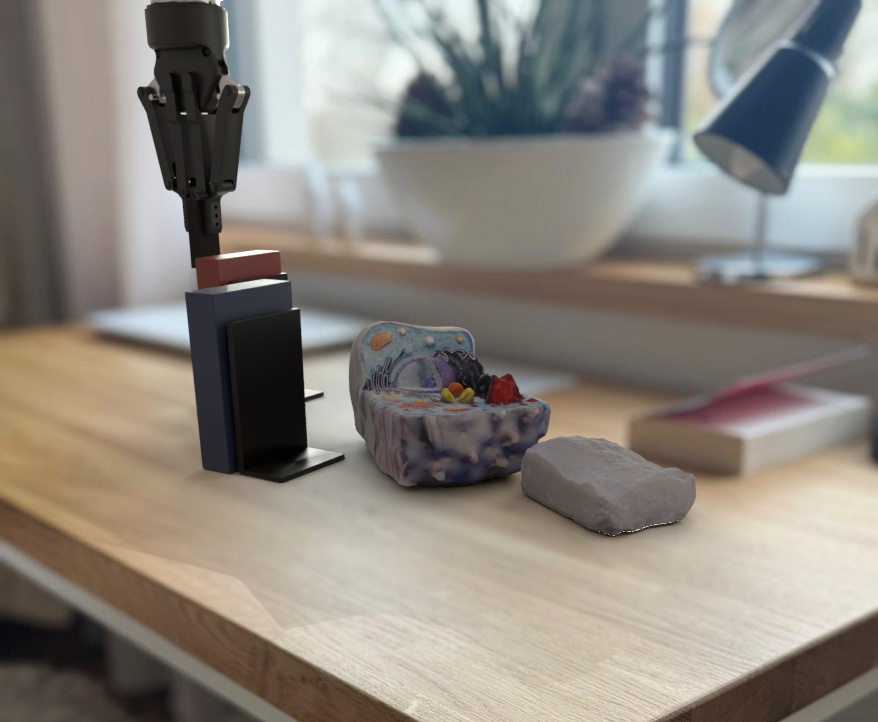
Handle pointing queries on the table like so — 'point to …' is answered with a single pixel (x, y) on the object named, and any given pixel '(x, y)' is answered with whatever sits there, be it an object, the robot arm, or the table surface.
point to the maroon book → (236, 267)
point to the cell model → (438, 407)
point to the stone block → (605, 484)
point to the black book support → (271, 398)
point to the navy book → (223, 358)
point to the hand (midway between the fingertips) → (206, 267)
